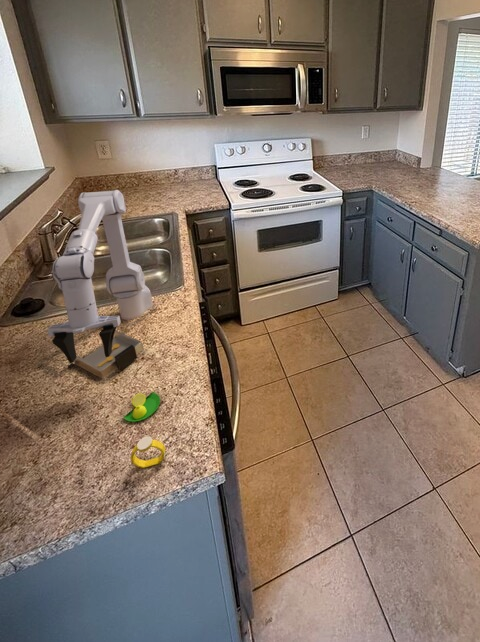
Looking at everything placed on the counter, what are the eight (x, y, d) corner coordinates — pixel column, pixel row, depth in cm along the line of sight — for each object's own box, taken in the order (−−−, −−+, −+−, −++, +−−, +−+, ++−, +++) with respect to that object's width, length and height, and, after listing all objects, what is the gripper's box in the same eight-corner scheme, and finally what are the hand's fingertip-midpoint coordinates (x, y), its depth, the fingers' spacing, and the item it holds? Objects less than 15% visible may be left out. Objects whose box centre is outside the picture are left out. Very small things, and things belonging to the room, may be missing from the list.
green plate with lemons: (117, 409, 84) (115, 400, 83) (151, 388, 89) (149, 379, 88) (131, 430, 79) (128, 420, 78) (166, 406, 84) (164, 397, 83)
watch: (168, 453, 74) (163, 432, 72) (165, 466, 71) (160, 445, 69) (136, 460, 72) (130, 439, 70) (133, 474, 70) (126, 452, 68)
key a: (117, 343, 103) (117, 342, 103) (121, 345, 103) (121, 344, 103) (103, 352, 100) (103, 352, 100) (107, 354, 99) (107, 354, 99)
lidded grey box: (75, 365, 97) (70, 350, 95) (116, 338, 107) (113, 323, 105) (108, 383, 91) (103, 367, 89) (149, 353, 101) (145, 337, 99)
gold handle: (68, 369, 96) (67, 365, 95) (120, 335, 108) (119, 332, 108) (71, 370, 95) (70, 367, 95) (123, 336, 108) (122, 333, 107)
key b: (110, 356, 99) (110, 355, 99) (114, 358, 98) (114, 357, 98) (96, 366, 95) (96, 365, 95) (100, 368, 95) (100, 367, 95)
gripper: (35, 317, 77) (47, 373, 80) (109, 307, 80) (118, 361, 83) (52, 303, 84) (62, 355, 86) (119, 294, 87) (128, 345, 90)
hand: (91, 357), depth 85 cm, fingers open, 7 cm apart
